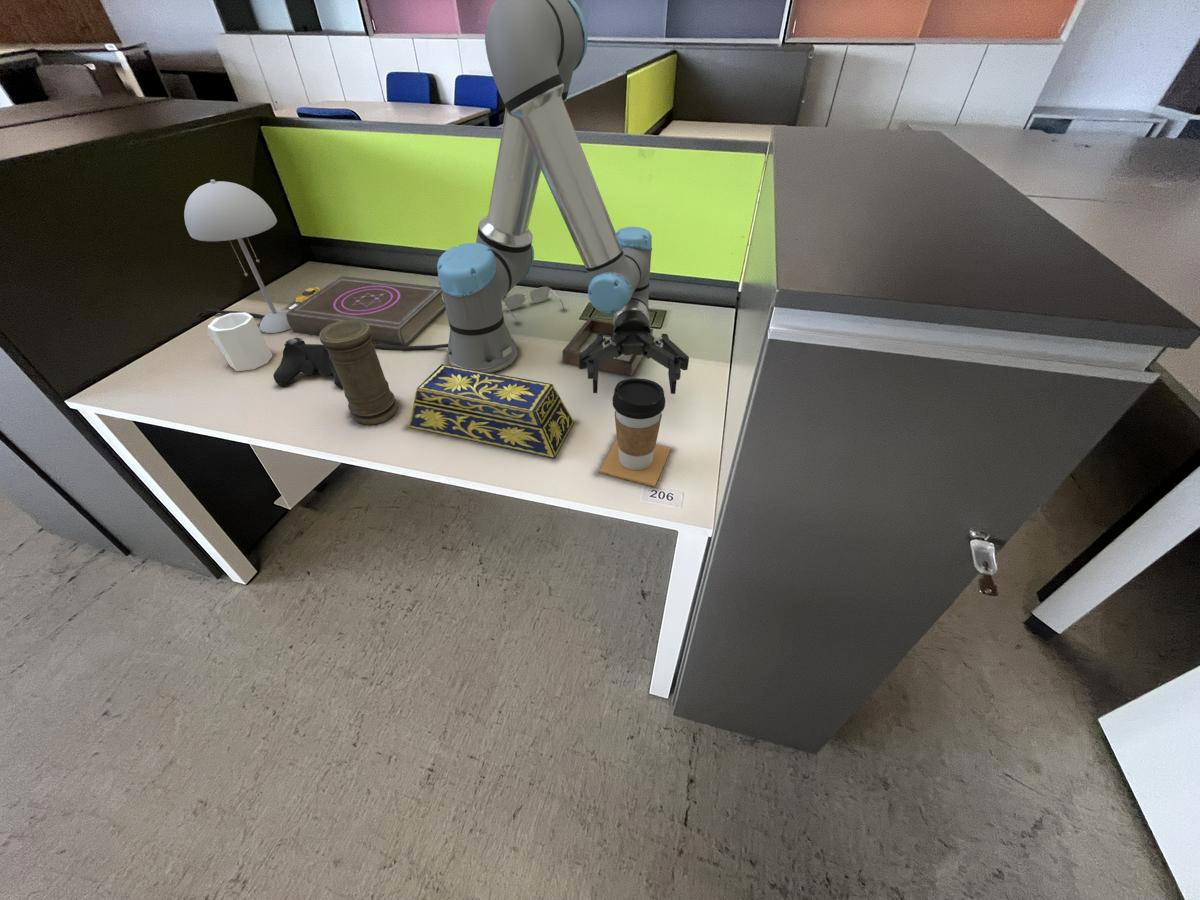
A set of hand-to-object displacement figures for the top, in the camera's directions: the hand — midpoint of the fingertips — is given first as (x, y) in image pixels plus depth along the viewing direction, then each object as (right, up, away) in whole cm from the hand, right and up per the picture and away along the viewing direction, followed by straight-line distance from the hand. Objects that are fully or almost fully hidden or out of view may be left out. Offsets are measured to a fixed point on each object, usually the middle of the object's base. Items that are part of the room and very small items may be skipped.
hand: (634, 387), depth 90 cm
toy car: (-84, +29, +49) cm, 101 cm away
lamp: (-86, +21, +40) cm, 97 cm away
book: (-63, +22, +42) cm, 79 cm away
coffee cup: (0, -13, +2) cm, 13 cm away
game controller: (-66, +5, +23) cm, 70 cm away
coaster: (0, -13, +2) cm, 13 cm away
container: (-51, -3, +13) cm, 53 cm away
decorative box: (-27, -6, +10) cm, 29 cm away
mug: (-87, +10, +28) cm, 92 cm away
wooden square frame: (-4, +12, +29) cm, 32 cm away
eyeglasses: (-23, +25, +44) cm, 56 cm away
